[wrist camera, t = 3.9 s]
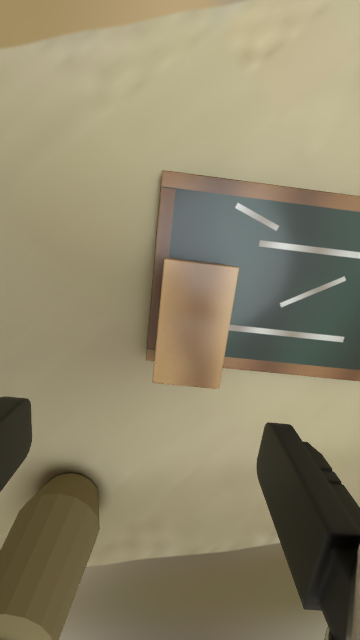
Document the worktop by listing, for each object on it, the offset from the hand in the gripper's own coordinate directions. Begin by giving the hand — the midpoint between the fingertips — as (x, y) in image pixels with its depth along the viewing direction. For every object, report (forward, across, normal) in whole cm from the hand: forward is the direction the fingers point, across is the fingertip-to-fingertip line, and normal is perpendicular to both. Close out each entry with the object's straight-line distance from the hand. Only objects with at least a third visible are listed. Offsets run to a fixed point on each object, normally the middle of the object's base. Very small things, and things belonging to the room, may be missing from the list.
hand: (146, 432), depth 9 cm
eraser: (+15, -2, -1) cm, 15 cm away
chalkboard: (+16, -9, -4) cm, 19 cm away
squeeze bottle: (+16, +9, +21) cm, 28 cm away
